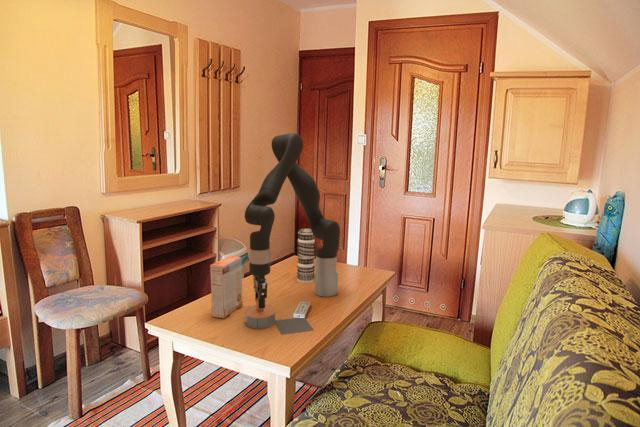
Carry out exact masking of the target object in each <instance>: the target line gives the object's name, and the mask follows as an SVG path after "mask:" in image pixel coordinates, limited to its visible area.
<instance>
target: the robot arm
mask: <svg viewBox="0 0 640 427" xmlns="http://www.w3.org/2000/svg"><path fill="white" fill-rule="evenodd" d="M303 149H304V142H303V138H302V137H301V135H299V134H298V133H296V132H295V133H293V132H291V133H286V134H279V135H275V136H274V137H273V138H272V140H271V150H272V153H273V155H274V157H275V158H276V160H277V162H278V163H277V164H276V165H275V166H274V167H273V168H272V169H271V170H270V171H269V172H268V174H266V176H265V177H264V179H263V181H262V183H261V186H260V188H259V191H258V193H257V194H256V195H255V196H254V197H253V199H251V201H250V203H248V204H247V206H246V208H245V211H244V219H245V222H246V223H247V224H249V225H253V226H260V229H259V230H257V231H253V232H251V233H250V234H249V253H248V254H249V257H248V258H249V259H248V260H249V261H248V262H249V274H250V275H252V277H253V289H254V290H253V291H254V292H255V293H254V294H255V296H254V297H255V298H254V299H255V302H256V298H259V308H260V309H261V308H265V305H266V299H267V298H268V283H267V278H266V277H265V276H267V275H269V274H270V273H271V245H270V240H271V233H272V230H273V226H274V223H275V222H274V221H275V216H276V215H275V211H274V209H273V208H272V207H270V206H271V205H274V204H275V203H276V202H277V200H278V197H279V195H280V193H281V190H282V188H283V185H284V184H285V181H286V180H287V178H288V180H289V183H290V184H291V186H292V188H293V191H294V193H295V195H296V198H297V199H298V201H299V203H300V205H301V207H302V209H303V211H304V212H303V213H304V214H305V216H306V218H307V220H308V223H309V227H310V229H311V230H312V232H313V234H314V238H316V239H317V240H320V241H322V246H321V247H318V248H316V250H315V274H314V276H315V277H314V282H315V286H314V293H315V295H316V296H319V297H327V298H329V297H334V296H335V295H338V291H339V290H338V289H339V287H338V286H339V274H338V272H337V264H338V262H337V261H338V260H337V258H338V251H339V248H340V240H341V239H340V236H341V228H340V225H339V223H338V222H337V221H334V220H330V219H328V218H327V219H326V218H325V217H324V215H323V214H322V211H321V208H320V203H321V193H320V190H319V187H318V185H317V183H316V181H315V179H314V177H312V176H311V175H310V174H309V173H308V172H307V171H306V170H305V169H303V168H302V167H301V166H300V165H299V164H298V163H297V161H298V160H299V158H300V156H301V154H302V152H303Z"/></svg>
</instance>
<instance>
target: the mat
mask: <svg viewBox="0 0 640 427" xmlns="http://www.w3.org/2000/svg"><path fill="white" fill-rule="evenodd" d="M274 324H275V326H276V328H277V330H278V331H279V333H280V335H281V336H283V335H289V334H296V333H306V332H311V331H315V329H314V328H313V327H312V325H311V324H310V323H309V321H308V320H307V318H306V317H305V318H299V317H293V318H286V319H285V318H284V319H277V320H276V319H275V323H274Z"/></svg>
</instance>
